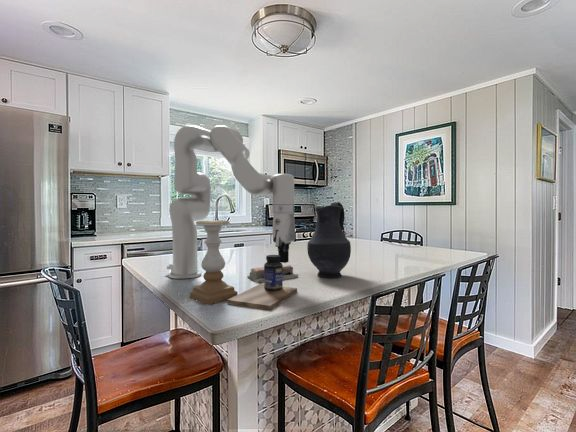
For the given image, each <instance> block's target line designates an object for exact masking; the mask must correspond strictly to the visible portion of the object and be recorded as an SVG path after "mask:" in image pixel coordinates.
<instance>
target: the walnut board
mask: <svg viewBox="0 0 576 432" xmlns="http://www.w3.org/2000/svg"><path fill="white" fill-rule="evenodd" d="M297 292H298V288H297V287H289V286H283V288H282V289H281V290H279V291H268V290H266V289H265V288H264V283H258V284H257V285H255V286H253V287H251V288H249V289H247V290H244V291H243V292H241V293H239V294H238V293H237V295H236V296H234V297H232V298H230V299H228V300H226V301H227V302H226V303H227V305H234V306H242V307H246V308H255V309H262V310H267V311H271V310H272V309H274V308H275V307H277V306H279V305H280V304H281V303H283V302H284V301H286V300H287V299H289V298H290V297H292V296H293V295H295V294H296V293H297Z"/></svg>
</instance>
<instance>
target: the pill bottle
mask: <svg viewBox="0 0 576 432" xmlns="http://www.w3.org/2000/svg"><path fill="white" fill-rule="evenodd" d="M265 259H266V262H265V263H264V265H263V267H264V282H263V284H264V288H265V289H266V290H268V291H279V290H281V289H282V288H283V287H284V285H283V284H284V283H283V280H284V279H283V263H281V262H280V255H278V254H268V255H266V257H265Z"/></svg>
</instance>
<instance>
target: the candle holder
mask: <svg viewBox="0 0 576 432" xmlns="http://www.w3.org/2000/svg"><path fill="white" fill-rule="evenodd" d="M228 225H230V221H229V220H198V221H196V222H195V226H201V227H203V229H204V231H205V232H206V236H207V237H206V239H205V240H204V244H205V245H206V248H207V251H206V254H205V255H204V257H203V258H202V260H201V264H200V265H201V266H200V267H201V268H202V270H203V271H205V272H204V273H203V279H204V280H205V281H203V282H202V283H200V285H195V286H193V287H192V290H191V291H189V298H190V299H192V300H194V301H196V300H197V301H196V302H199V303H201V304H203V305H205V306H206V305H207V306H209V305H210V306H211V305H214V304H218V303H222V302H226V301H227V300H228V299H230V298H232V297H234V296H236V295H238V291H236V290H235V287H234V286H233V285H230V284H227V282H225V281H224V280H222V279H223V278H224V273H223V272H222V270H223V269H224V268H225V267H226V261H225V258H224V257H223V255H222V254H221V252H220V249H219V248H220V246H221V244H222V240H221V238H220V232H221V230H222V229H223V226H228Z"/></svg>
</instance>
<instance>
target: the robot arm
mask: <svg viewBox="0 0 576 432" xmlns="http://www.w3.org/2000/svg"><path fill="white" fill-rule="evenodd" d="M195 149H196V150H200V151H203V152H209V153H220V154H221V155H222V156H223V158H224V159H225V160H226V161H227V163H228V164H230V166H231V171H232V173H233V176H234V178H235V180H236V181H237V182H238V183H239V184H240V185H241V186H242V188H243V189H245V191H246V192H248V193H249V194H251V195H254V196H267V197H268V196H272V214H273V218H272V242H274V244H275V247H276V248H277V251H278V254H277V255H280V263H282V264H284V263H285V264H287V263H289V261H290V260H289V256H290V254H289V251H290V245H291V243H292V242H294V241H296V222H295V177H294V175H293V174H290V173H277V174H274V175H273V174H272V175H271V174H265V173H262V172H261V173H260V172H258V171H257V169H255V168H254V167H253V165H252V164H251V163H250V161H249V160H248V159H249V157H250V154H251V153H250V150H249V148H248V147H246V145H245V144H244V138H243V135H242V133H241V132H239V131H238V130H237V129H234V128H232V127H229V126H226V125H222V124H221V125H215V126H214V127H213V128H211V130H209V129H206V128H205V127H204V128H203V127H201V126H197V125H192V124H189V125H184V126H182V127H181V128H180V129H179V130H178V131H177V132H176V134H175V136H174V139H173V151H174V177H173V179H174V181H173V182H174V185H173V186H174V190H175V191H176V192H177V193H178V194H181V195H190V196H191V197H179V198H176V199H174V200H173V201H172V202H171V203H170V204H169V208H168V209H169V210H168V211H169V216H170V221H171V230H172V231H171V232H172V233H171V234H172V237H171V238H172V263H169V264H168V266H166V269H167V270H170V273H168V277H169V278H171V279H174V280H175V279H177V280H185V279H193V278H194V279H195V278H197V277H200V276H202V271H201V270H198V267H199V266H198V230H197V225H196V223H194V221H196V222H197V221H204V220H205V219H206V218H207V217H208V216H209V213H210V210H211V209H210V208H211V192H212V191H211V190H212V188H211V182H210V179H209V176H207V175H206V174H205V173H203V172H198V159H197V154H196V152H195V151H194V150H195Z"/></svg>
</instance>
